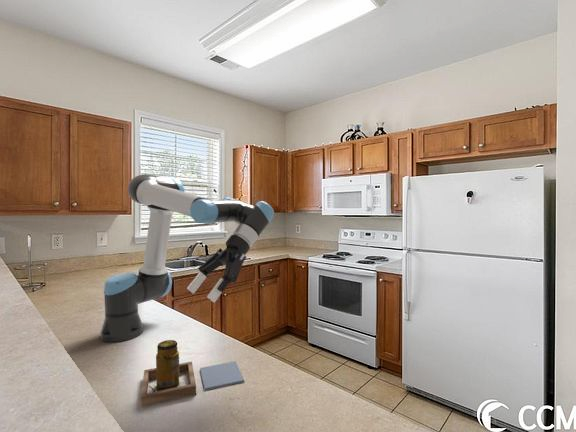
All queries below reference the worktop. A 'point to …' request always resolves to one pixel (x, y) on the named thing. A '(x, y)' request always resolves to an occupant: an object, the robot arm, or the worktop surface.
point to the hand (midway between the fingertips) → (199, 295)
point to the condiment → (167, 366)
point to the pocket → (168, 393)
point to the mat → (221, 375)
